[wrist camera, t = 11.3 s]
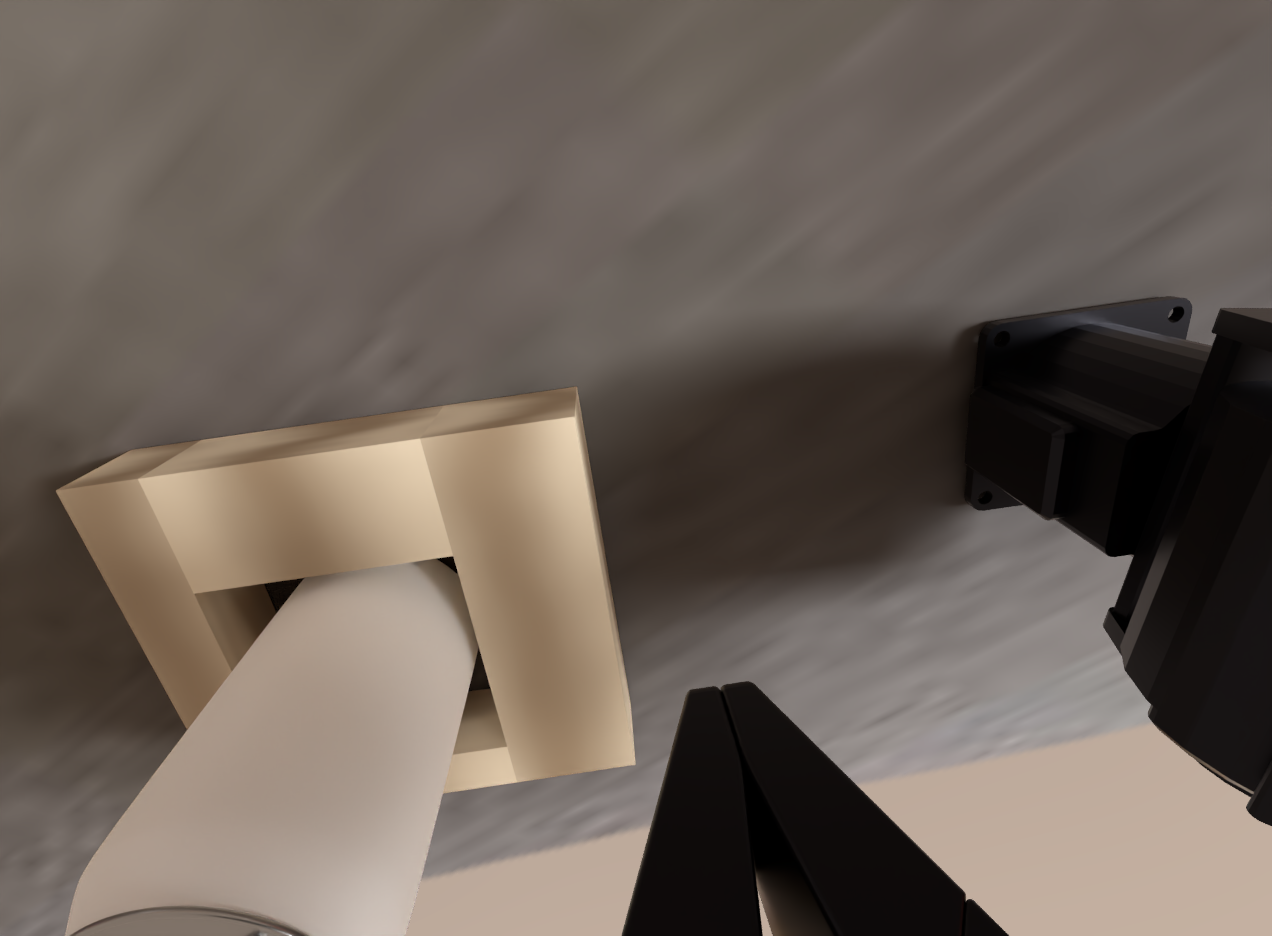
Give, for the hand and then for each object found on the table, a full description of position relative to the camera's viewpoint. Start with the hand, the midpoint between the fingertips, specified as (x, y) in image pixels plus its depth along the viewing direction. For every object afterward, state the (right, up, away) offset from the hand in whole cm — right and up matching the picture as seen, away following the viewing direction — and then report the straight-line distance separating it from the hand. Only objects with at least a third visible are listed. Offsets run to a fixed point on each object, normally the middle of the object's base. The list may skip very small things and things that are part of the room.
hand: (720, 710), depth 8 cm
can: (-10, -2, +15) cm, 18 cm away
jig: (-9, -1, +14) cm, 17 cm away
